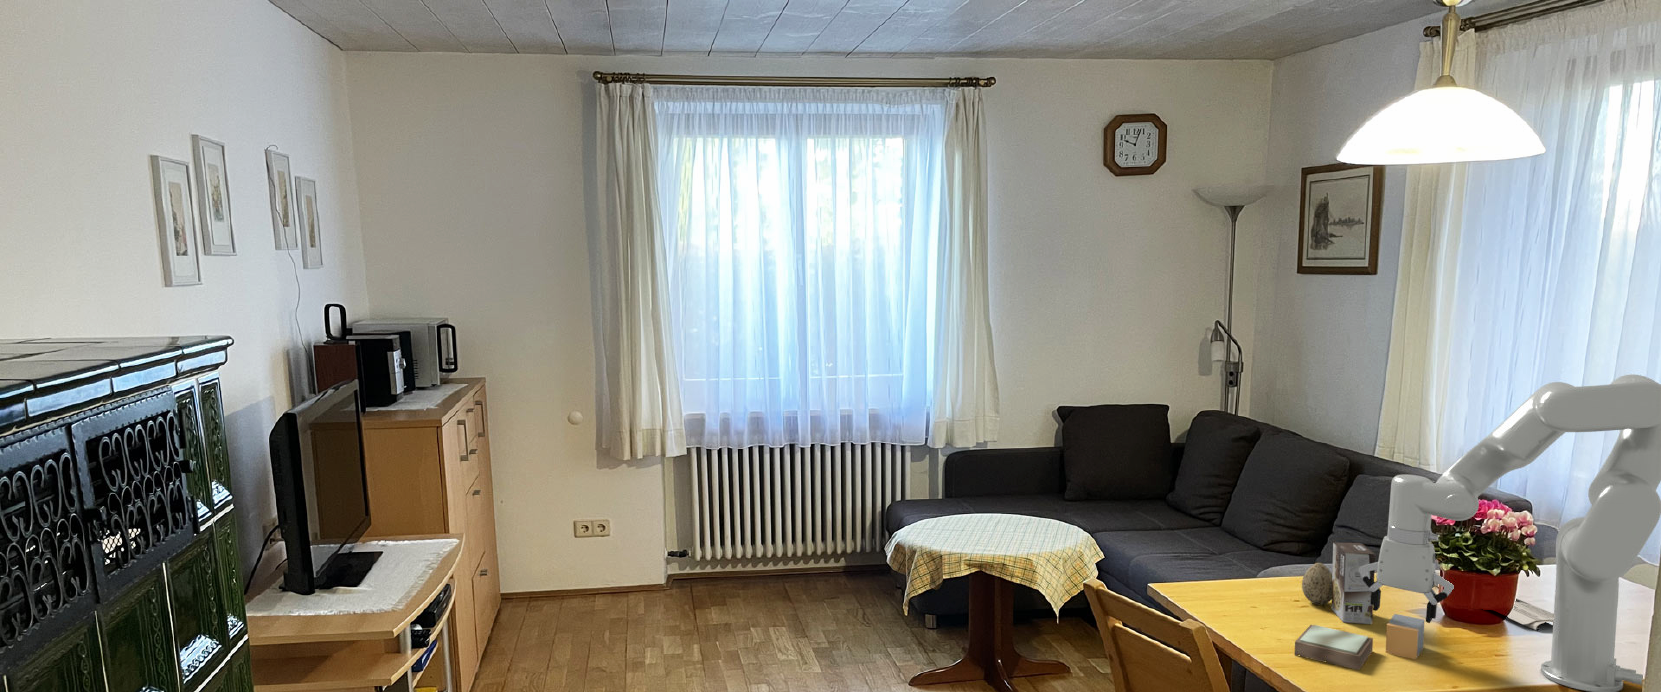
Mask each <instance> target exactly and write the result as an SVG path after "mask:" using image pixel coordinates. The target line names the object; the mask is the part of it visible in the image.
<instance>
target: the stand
mask: <svg viewBox="0 0 1661 692" xmlns="http://www.w3.org/2000/svg"><path fill="white" fill-rule="evenodd" d="M1373 643H1374V637H1369V636H1368V635H1363V634H1358V633H1353V632H1350V631H1345V630H1340V629H1339V630H1338V629H1334V628H1330V627H1326V626H1322V625H1318V624H1317V625H1316V624H1310V625H1309V626H1308V627H1307V628H1306V629H1305V630H1304V631H1303V632H1302V633H1301V635H1300V636H1298V637H1297V639H1296V640H1295V641H1294V656H1298V655H1300V656H1299V657H1302V656H1303V657H1302V658H1306V657H1308V658H1307V659H1310V658H1312V659H1311V660H1314V659H1315V660H1316V661H1319V662H1323V661H1326V662H1325V663H1327V662H1328V664H1332V665H1335V666H1340V667H1343V668H1344V667H1345V668H1349V669H1353V670H1357V671H1360V670H1361V668H1362V667H1363V665H1364V664H1365V662H1366V661H1367V660H1368V658H1369V657H1370V655H1371V654H1372V653H1373V649H1374V646H1373Z"/></svg>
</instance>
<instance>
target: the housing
mask: <svg viewBox="0 0 1661 692" xmlns="http://www.w3.org/2000/svg"><path fill="white" fill-rule="evenodd" d="M1424 634H1425V619H1422V618H1419V617H1418V618H1417V617H1412V616H1407V615H1403V614H1397V613H1394V614H1393V615H1392V617H1391V618H1390V619H1389V620H1388V623H1386V635H1385V636H1386V638H1385V640H1386V641H1385V653H1386V654H1390V655H1393V656H1394V655H1395V656H1399V657H1402V658H1403V657H1404V658H1407V659H1410V660H1411V659H1412V660H1417V659H1418V657H1419V656H1420V654H1421V652H1422V650H1423V648H1424V641H1425V640H1424V639H1425V637H1424V636H1425V635H1424Z"/></svg>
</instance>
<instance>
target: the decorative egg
mask: <svg viewBox="0 0 1661 692" xmlns="http://www.w3.org/2000/svg"><path fill="white" fill-rule="evenodd" d="M1301 581H1302V582H1301V590H1302V593H1303V595H1304V596H1305V598H1306V599H1307V600H1308V601H1310V602H1311V603H1313V604H1315V605H1326V604H1328V603H1329V602H1332V572H1331V570H1329V568H1328V567H1327V566H1326V565H1325V564H1324V563H1322V562H1315V563H1314V564H1312V565H1311V566H1310V567H1308V569H1307V570H1306V571H1305V573H1304V574H1303V577H1302V580H1301Z"/></svg>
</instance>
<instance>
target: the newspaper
mask: <svg viewBox="0 0 1661 692" xmlns="http://www.w3.org/2000/svg"><path fill="white" fill-rule="evenodd" d="M1438 570H1439V569H1435V573H1436V574H1438V575H1439V571H1438ZM1437 586H1438V583H1436V582H1435V584H1434V587H1437ZM1507 619H1510V620H1512V621H1515V622H1517V623H1519V624H1521V625H1524V626H1526V627H1528V628H1530V629H1533V630H1534V631H1537V629H1538V628H1539V627H1538V626H1540V625H1541V624H1544V623H1545V622H1553V620H1554V612H1553V613H1552V612H1550V611H1548V610H1545V609H1543V608H1541V607H1538V606H1536V605H1532V604H1530V603H1528V602H1526V601H1524V600H1521V599H1518V598H1516V601H1515V604H1514V609H1513V610H1512V612H1511V614H1509V615H1508V618H1507ZM1545 624H1546V623H1545Z"/></svg>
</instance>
